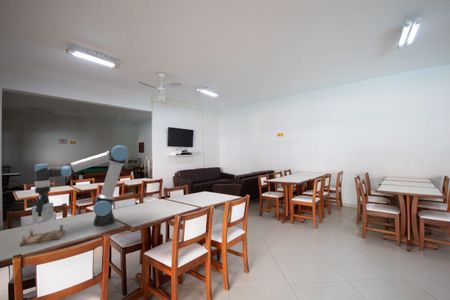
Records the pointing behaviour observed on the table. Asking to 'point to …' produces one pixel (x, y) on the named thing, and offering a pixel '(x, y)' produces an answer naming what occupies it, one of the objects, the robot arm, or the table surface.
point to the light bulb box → (46, 212)
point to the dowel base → (42, 237)
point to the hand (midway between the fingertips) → (43, 218)
